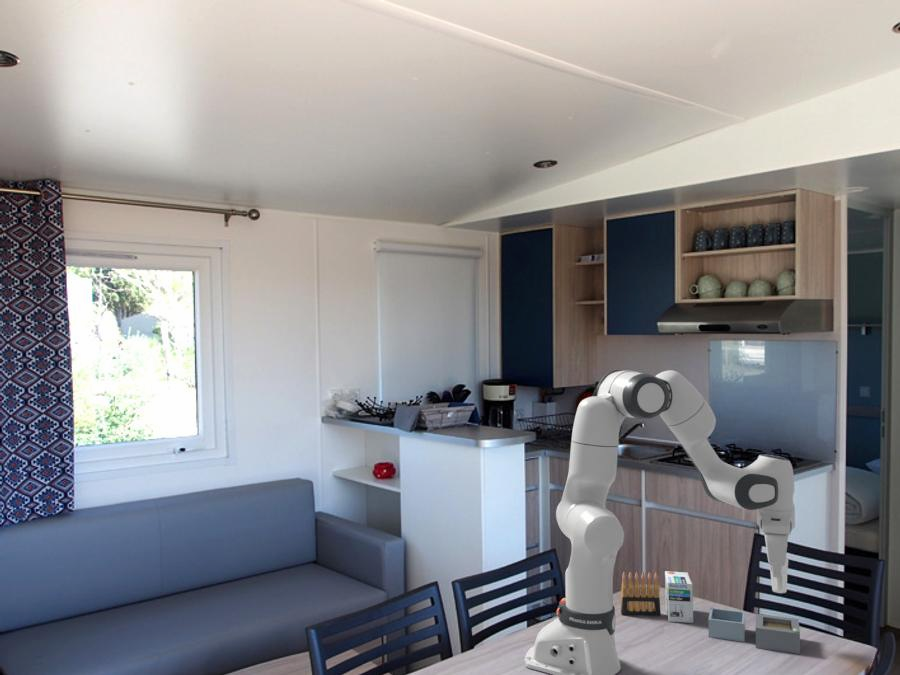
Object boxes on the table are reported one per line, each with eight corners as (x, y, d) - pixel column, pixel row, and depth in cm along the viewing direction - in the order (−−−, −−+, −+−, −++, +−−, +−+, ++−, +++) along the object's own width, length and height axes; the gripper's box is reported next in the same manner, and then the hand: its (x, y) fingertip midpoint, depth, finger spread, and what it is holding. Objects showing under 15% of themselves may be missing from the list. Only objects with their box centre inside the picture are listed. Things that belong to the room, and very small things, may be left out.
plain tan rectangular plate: (764, 633, 183) (764, 630, 183) (764, 625, 189) (764, 622, 189) (790, 637, 181) (790, 634, 181) (790, 628, 187) (790, 625, 187)
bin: (708, 636, 189) (708, 619, 189) (711, 624, 197) (710, 607, 197) (744, 641, 186) (744, 623, 186) (745, 629, 194) (745, 612, 194)
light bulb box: (693, 623, 198) (693, 584, 198) (668, 622, 200) (667, 582, 200) (689, 609, 209) (688, 571, 209) (664, 608, 210) (664, 570, 210)
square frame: (755, 647, 182) (755, 625, 182) (756, 632, 192) (756, 611, 192) (800, 654, 178) (799, 631, 178) (798, 638, 188) (798, 616, 188)
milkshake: (765, 587, 188) (764, 548, 188) (788, 589, 186) (786, 549, 186) (767, 593, 184) (765, 552, 184) (790, 594, 182) (789, 554, 182)
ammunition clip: (621, 615, 205) (621, 572, 205) (620, 612, 207) (620, 570, 207) (660, 616, 204) (660, 573, 204) (659, 613, 206) (658, 571, 206)
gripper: (762, 508, 196) (763, 560, 196) (761, 527, 177) (762, 584, 177) (788, 510, 193) (789, 562, 193) (790, 529, 175) (791, 587, 175)
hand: (776, 573), depth 185 cm, fingers closed on milkshake, 4 cm apart
